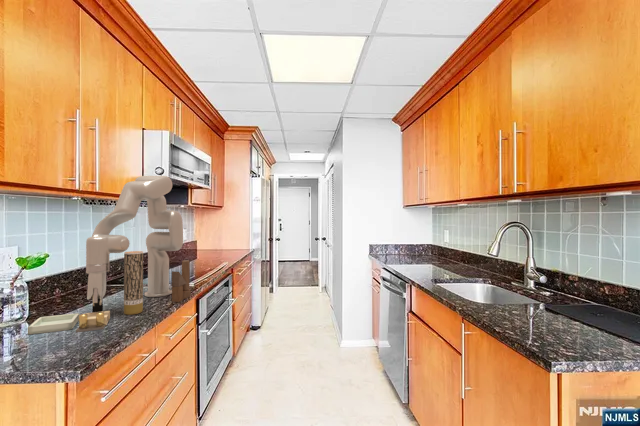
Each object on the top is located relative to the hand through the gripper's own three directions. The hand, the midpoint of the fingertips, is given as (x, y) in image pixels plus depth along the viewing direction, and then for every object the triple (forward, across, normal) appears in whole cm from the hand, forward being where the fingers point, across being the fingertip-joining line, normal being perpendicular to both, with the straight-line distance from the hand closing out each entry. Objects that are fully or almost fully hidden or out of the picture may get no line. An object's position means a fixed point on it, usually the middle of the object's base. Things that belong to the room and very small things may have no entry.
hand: (97, 315), depth 127 cm
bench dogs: (+1, +13, 0) cm, 13 cm away
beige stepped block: (+2, +6, 0) cm, 7 cm away
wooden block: (+2, -17, +31) cm, 35 cm away
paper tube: (+1, -2, +12) cm, 12 cm away
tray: (+1, +5, -12) cm, 13 cm away
